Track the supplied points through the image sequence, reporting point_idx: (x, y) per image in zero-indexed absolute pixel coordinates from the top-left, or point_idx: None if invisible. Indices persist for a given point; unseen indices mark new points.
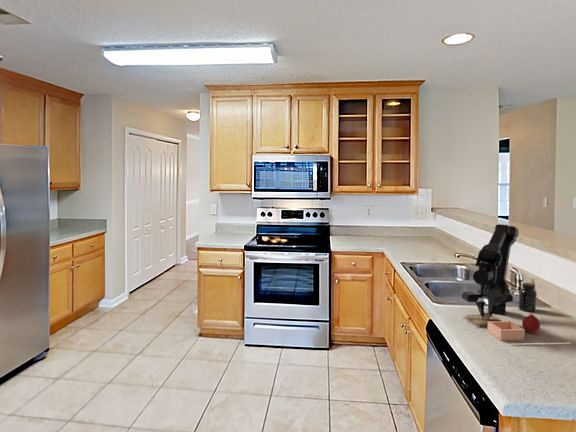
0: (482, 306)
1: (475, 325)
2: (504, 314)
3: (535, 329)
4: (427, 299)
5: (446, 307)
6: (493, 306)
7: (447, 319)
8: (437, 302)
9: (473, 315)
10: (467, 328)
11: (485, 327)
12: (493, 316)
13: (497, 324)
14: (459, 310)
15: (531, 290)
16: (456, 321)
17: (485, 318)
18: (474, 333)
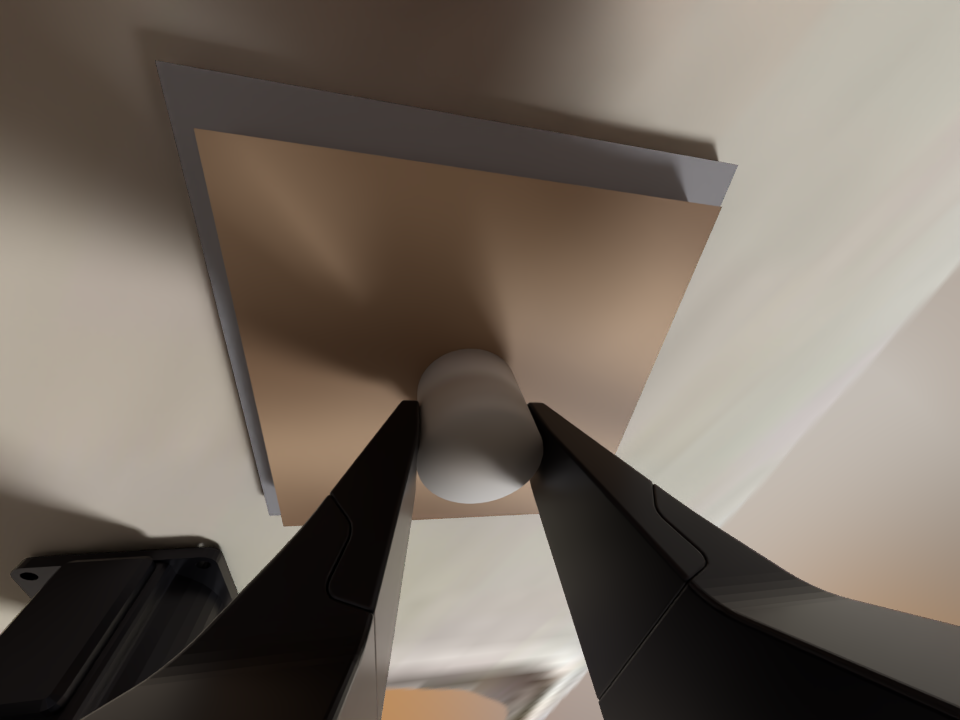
0: (727, 566)
1: None
2: (75, 560)
3: None
4: (553, 698)
5: (537, 635)
6: (355, 595)
7: (729, 467)
8: (531, 680)
9: (528, 498)
10: (788, 240)
11: (612, 179)
12: (288, 475)
13: None
14: (486, 608)
15: None
16: (703, 428)
17: (506, 373)
18: (897, 24)
